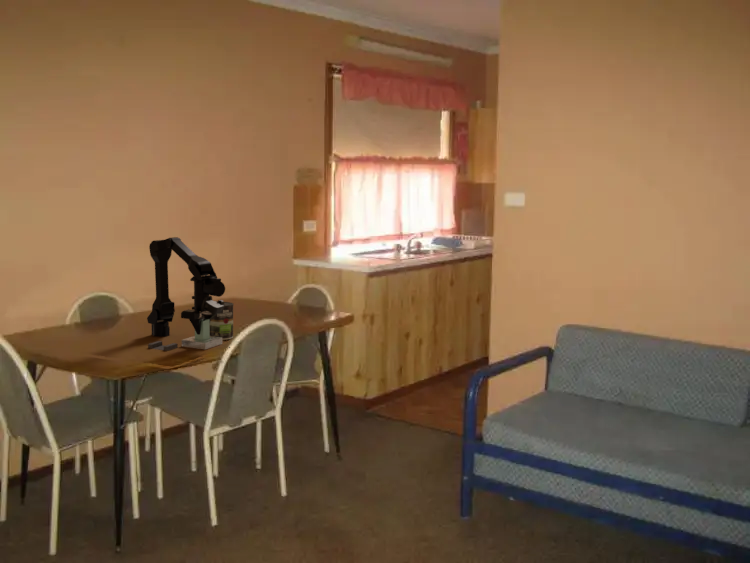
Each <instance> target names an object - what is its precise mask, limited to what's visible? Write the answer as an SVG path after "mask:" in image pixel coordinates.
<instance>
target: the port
mask: <svg viewBox="0 0 750 563" xmlns="http://www.w3.org/2000/svg"><path fill="white" fill-rule="evenodd" d="M220 345H223V340H222V337H215V336H210V339H208V340H205V341H202V340H195V335H193V336H190V337H187V338H183V339H181V347H185V348H191V349H199V350H208V349H212V348H215V347H217V346H220Z"/></svg>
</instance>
